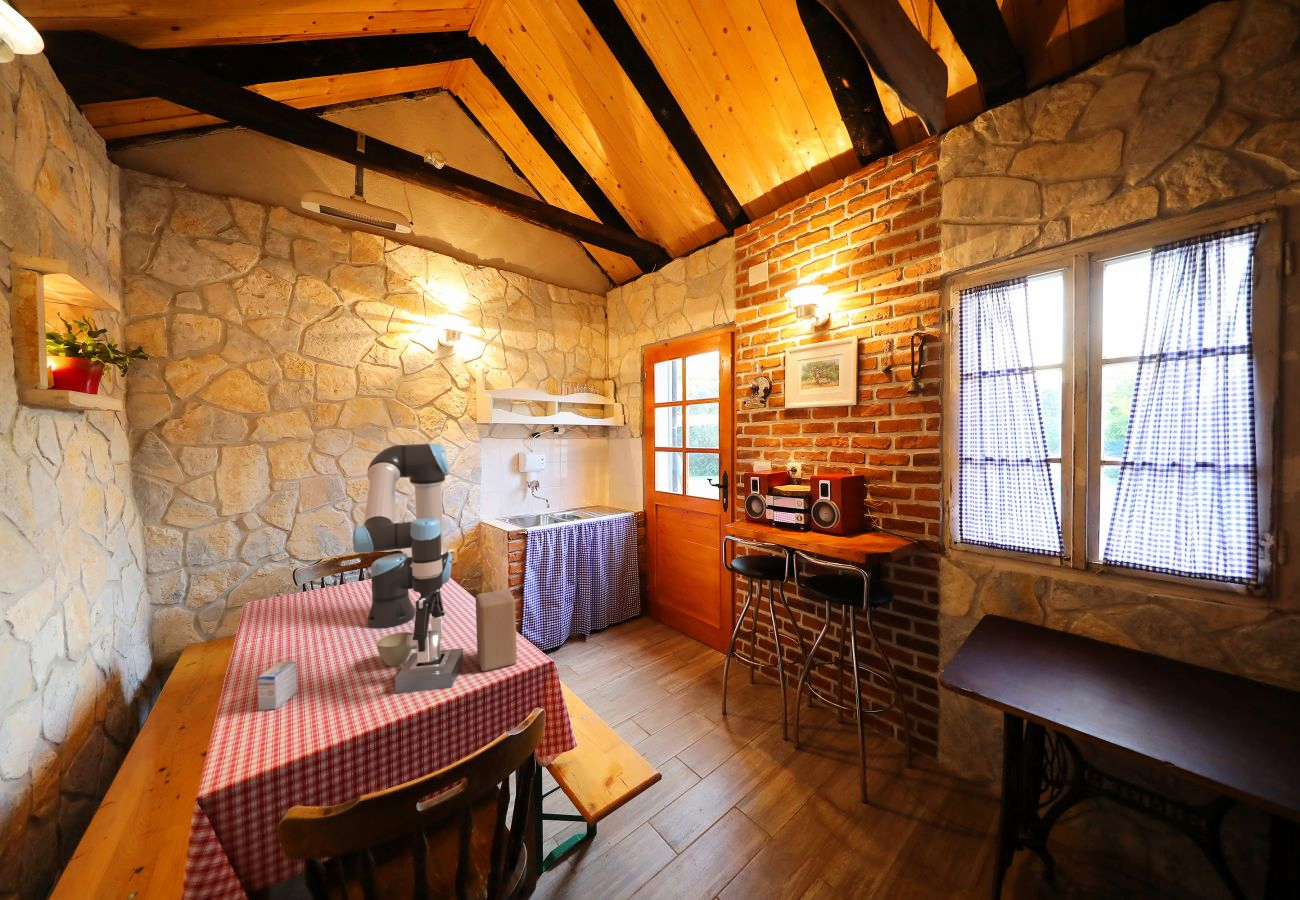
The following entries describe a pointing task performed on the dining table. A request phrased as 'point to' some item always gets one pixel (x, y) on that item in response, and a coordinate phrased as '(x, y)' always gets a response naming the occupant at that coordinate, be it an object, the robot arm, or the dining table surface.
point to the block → (496, 629)
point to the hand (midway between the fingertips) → (430, 650)
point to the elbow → (433, 646)
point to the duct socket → (429, 673)
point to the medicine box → (277, 685)
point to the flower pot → (394, 648)
